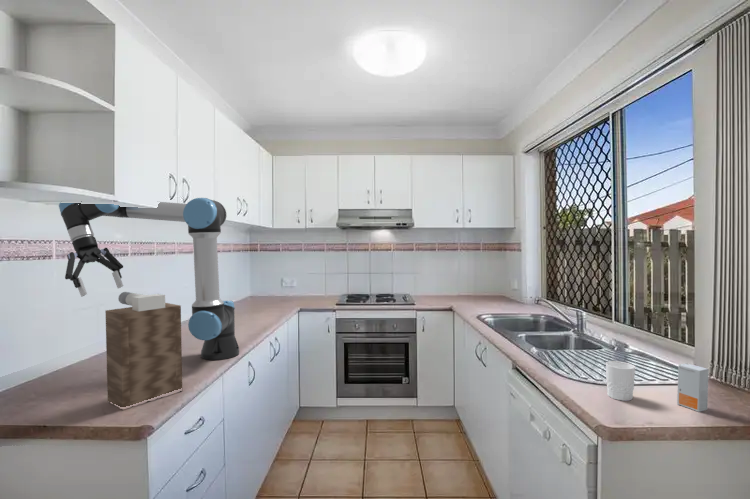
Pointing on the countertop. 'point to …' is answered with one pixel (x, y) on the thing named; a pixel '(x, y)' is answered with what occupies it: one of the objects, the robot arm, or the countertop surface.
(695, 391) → the skincare box
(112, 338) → the open wooden box
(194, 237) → the robot arm
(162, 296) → the knob
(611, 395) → the white cup
